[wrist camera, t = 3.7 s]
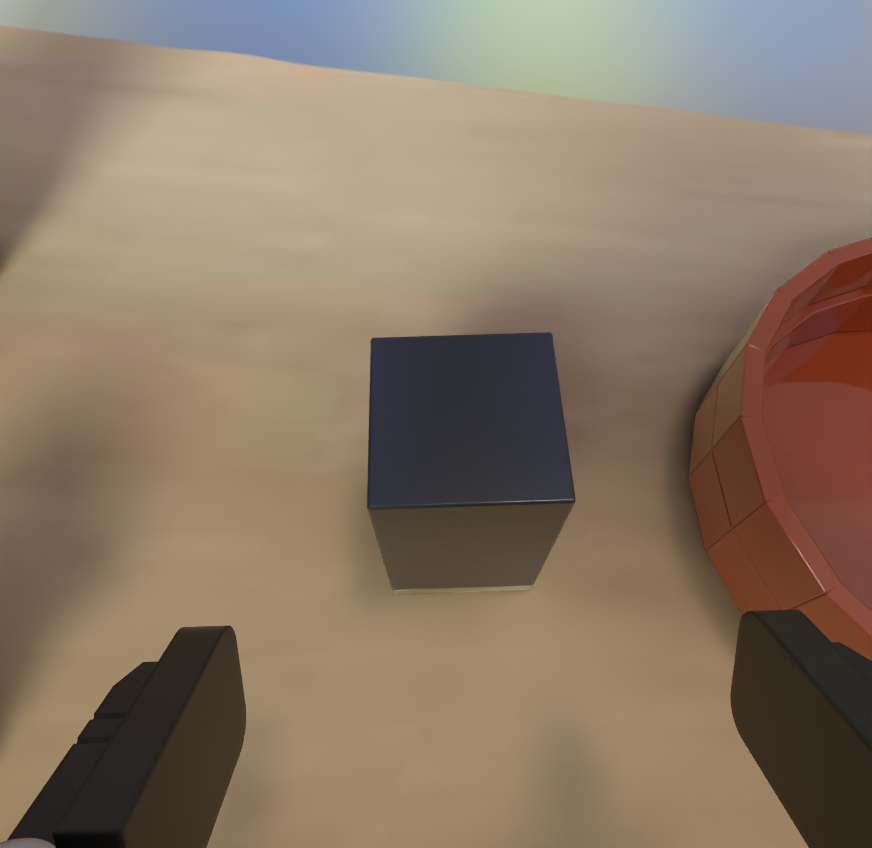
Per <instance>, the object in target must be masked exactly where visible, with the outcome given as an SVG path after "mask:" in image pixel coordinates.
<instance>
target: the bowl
mask: <svg viewBox="0 0 872 848" xmlns="http://www.w3.org/2000/svg"><path fill="white" fill-rule="evenodd" d="M689 482H690V486H691V490H692V495H693V499H694V503H695V508H696V512H697V516H698V520H699V525H700V529H701V533H702V537H703V542H704V546H705V549H706V551H707V554H708V555H709V557H710V559H711V561H712V562H713V564H714V566H715V568H716V569H717V571H718V573H719V575H720V576H721V578H722V580H723V582H724V583H725V585H726V587H727V589H728V590H729V592H730V594H731V596H732V597H733V599H734V601H735V603H736V604H737V606H738V608H739V610H740V611H741V613H742V615H743V614H744V613H745V612H747V611H767V610H799V611H801V612H802V613H803V614H805V615H806V616H807V617H808V618H809V619H810V620H811V621H812V622H813V623H814V625H815V626H816V627H817V628H818V629H819V630H820V631H821V632H822V633H823V634H824V635H825V636H826V637H827V638H828V639H829V640H830V641H831V642H840V643H842V644H844V645H845V646H847V647H849V648H850V649H852V650H854V651H855V652H857V653H859V654H860V655H862V656H864V657H866V658H867V659H869V660H871V661H872V238H869V239H866V240H862V241H859V242H856V243H853V244H849V245H846V246H843V247H840V248H836V249H833V250H830V251H828V252H826V253H824V254H823V255H821V256H820V257H819V258H817V259H816V260H815V261H813V262H812V263H811V264H809V265H808V266H807V267H805V268H804V269H803V270H802V271H800V272H799V273H798V274H796V275H795V276H794V277H792V278H791V279H790V280H788V281H787V282H786V283H784V284H783V285H782V286H780V287H779V288H778V289H777V290H776V291H775V292H774V293H773V295H772V296H771V298H770V299H769V301H768V302H767V303H766V305H765V306H764V308H763V309H762V310H761V312H760V313H759V315H758V316H757V318H756V319H755V320H754V322H753V323H752V325H751V326H750V328H749V329H748V330H747V332H746V333H745V335H744V336H743V337H742V339H741V340H740V342H739V343H738V345H737V346H736V347H735V349H734V350H733V352H732V353H731V355H730V356H729V357H728V359H727V360H726V362H725V363H724V364H723V366H722V368H721V370H720V371H719V373H718V375H717V377H716V378H715V380H714V382H713V384H712V386H711V387H710V389H709V391H708V393H707V394H706V396H705V398H704V400H703V402H702V403H701V405H700V407H699V409H698V410H697V414H696V415H695V424H694V433H693V441H692V450H691V458H690V467H689Z"/></svg>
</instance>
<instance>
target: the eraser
mask: <svg viewBox="0 0 872 848" xmlns="http://www.w3.org/2000/svg"><path fill="white" fill-rule="evenodd" d="M574 503H575V493H574V486H573V479H572V472H571V465H570V458H569V450H568V443H567V436H566V429H565V422H564V415H563V408H562V401H561V394H560V387H559V379H558V372H557V365H556V358H555V351H554V344H553V337H552V334H551V333H517V334H484V335H452V336H420V337H387V338H372V340H371V354H370V398H369V441H368V485H367V508H368V512H369V515H370V518H371V522H372V525H373V528H374V531H375V535H376V538H377V541H378V544H379V548H380V551H381V554H382V558H383V561H384V564H385V567H386V571H387V574H388V577H389V580H390V584H391V587H392V590H393V593H394V594H424V593H454V592H485V591H516V590H531V588H532V586H533V584H534V582H535V580H536V578H537V576H538V574H539V572H540V570H541V568H542V566H543V564H544V562H545V561H546V559H547V557H548V555H549V553H550V551H551V549H552V547H553V545H554V543H555V541H556V539H557V537H558V535H559V533H560V531H561V529H562V527H563V525H564V523H565V521H566V519H567V517H568V515H569V513H570V511H571V509H572V507H573V505H574Z"/></svg>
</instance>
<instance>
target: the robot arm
mask: <svg viewBox="0 0 872 848" xmlns="http://www.w3.org/2000/svg"><path fill="white" fill-rule="evenodd" d="M731 708H732V713H733V718H734V721H735V724H736V727H737V730H738V732H739V734H740V736H741V738H742V740H743V741H744V743H745V744H746V746H747V748H748V749H749V751H750V753H751V754H752V756H753V757H754V759H755V761H756V762H757V764H758V766H759V767H760V769H761V770H762V772H763V774H764V775H765V777H766V779H767V780H768V782H769V783H770V785H771V787H772V788H773V790H774V792H775V793H776V795H777V796H778V798H779V800H780V801H781V803H782V805H783V806H784V808H785V809H786V811H787V813H788V814H789V816H790V818H791V819H792V821H793V822H794V824H795V826H796V827H797V829H798V831H799V832H800V834H801V835H802V837H803V839H804V840H805V842H806V844H807V845H808V847H809V848H872V661H871V660H869V659H867V658H866V657H864V656H862V655H860V654H859V653H857V652H855V651H854V650H852V649H850V648H849V647H847V646H845V645H844V644H842V643H840V642H831V641H830V640H829V639H828V638H827V637H826V636H825V635H824V634H823V633H822V632H821V631H820V630H819V629H818V628H817V627H816V626H815V625H814V623H813V622H812V621H811V620H810V619H809V618H808V617H807V616H806V615H805V614H803V613H802V612H801V611H799V610H767V611H747V612H745V613H744V614H743V616H742V618H741V620H740V625H739V632H738V640H737V647H736V655H735V663H734V670H733V678H732V686H731ZM245 727H246V705H245V698H244V691H243V683H242V676H241V669H240V662H239V655H238V648H237V641H236V635H235V632H234V630H233V628H232V627H231V626H205V627H182V628H180V629H179V630H178V631H177V633H176V634H175V636H174V637H173V639H172V641H171V642H170V644H169V645H168V647H167V649H166V650H165V652H164V653H163V655H162V657H161V658H160V660H159V661H158V662H143V663H141V664H140V665H139V666H138V667H137V668H135V669H134V670H133V671H132V672H130V673H129V674H128V675H127V676H125V677H124V678H123V679H122V680H120V681H119V682H118V683H117V684H115V685H114V686H113V687H112V689H111V690H110V692H109V693H108V695H107V696H106V697H105V699H104V700H103V702H102V703H101V705H100V706H99V708H98V709H97V711H96V712H95V713H94V719H93V720H90V721H89V722H88V724H87V725H86V726H85V728H84V729H83V731H82V732H81V734H80V735H79V737H78V742H77V744H73V745H72V747H71V748H70V750H69V751H68V753H67V754H66V755H65V757H64V758H63V760H62V761H61V763H60V764H59V766H58V767H57V769H56V770H55V771H54V773H53V774H52V776H51V777H50V779H49V780H48V782H47V783H46V784H45V786H44V787H43V789H42V790H41V792H40V793H39V795H38V796H37V798H36V799H35V800H34V802H33V803H32V805H31V806H30V808H29V809H28V811H27V812H26V814H25V815H24V816H23V818H22V819H21V821H20V822H19V824H18V825H17V827H16V828H15V829H14V831H13V832H12V834H11V835H10V837H9V838H8V840H7V841H4V842H1V843H0V848H206V847H207V844H208V841H209V838H210V836H211V833H212V830H213V827H214V824H215V822H216V819H217V816H218V813H219V811H220V808H221V805H222V802H223V799H224V797H225V794H226V791H227V788H228V786H229V783H230V780H231V777H232V774H233V772H234V769H235V766H236V763H237V760H238V758H239V755H240V752H241V749H242V745H243V741H244V735H245Z"/></svg>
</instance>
